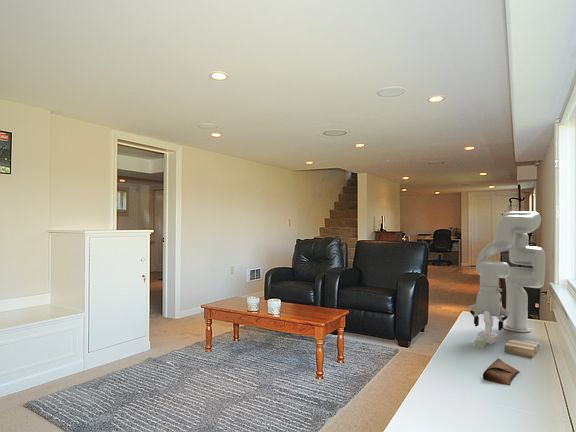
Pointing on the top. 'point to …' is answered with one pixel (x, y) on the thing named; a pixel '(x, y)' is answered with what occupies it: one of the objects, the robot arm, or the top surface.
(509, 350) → the oak pedestal
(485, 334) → the figurine
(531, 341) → the brick slate
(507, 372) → the sunglasses case
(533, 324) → the top surface
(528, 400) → the top surface
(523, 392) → the top surface
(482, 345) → the brick sage
